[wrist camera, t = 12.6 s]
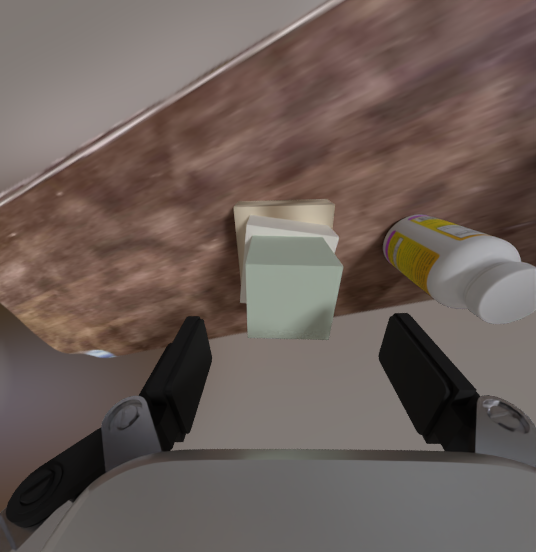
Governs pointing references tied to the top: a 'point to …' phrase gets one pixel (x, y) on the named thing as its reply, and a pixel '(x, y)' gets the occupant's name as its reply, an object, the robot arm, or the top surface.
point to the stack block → (291, 287)
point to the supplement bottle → (463, 268)
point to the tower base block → (280, 215)
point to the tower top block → (282, 228)
